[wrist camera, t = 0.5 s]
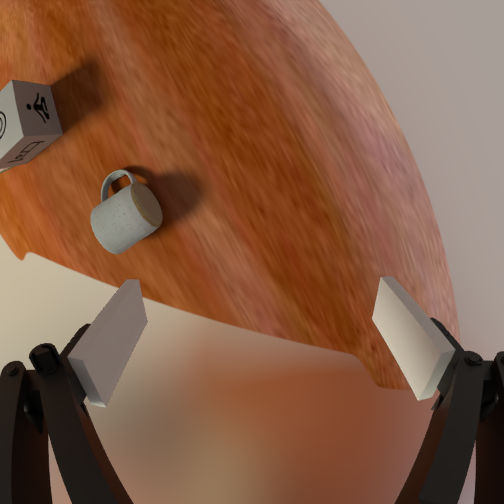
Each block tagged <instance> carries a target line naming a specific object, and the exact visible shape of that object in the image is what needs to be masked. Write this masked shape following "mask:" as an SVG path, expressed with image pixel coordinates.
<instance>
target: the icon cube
mask: <svg viewBox="0 0 504 504" xmlns="http://www.w3.org/2000/svg"><path fill="white" fill-rule="evenodd" d="M62 135H63V132H62V129H61V125H60V122H59V118H58V115H57V111H56V107H55V104H54V100H53V96H52V92H51V88H50V86H49V85H43V84H38V83H31V82H25V81H18V80H11V81H10V82H9V83H8V84H7V85H6V86H5V87H4V88H3V89H2V91H1V92H0V169H4V168H8V167H12V166H17V165H22V164H27V163H28V162H29V161H30V160H31V159H33V158H34V157H35V156H36V155H37V154H39V153H40V152H41V151H42V150H44V149H45V148H46V147H47V146H49V145H50V144H51V143H53V142H54V141H55V140H56V139H58V138H59V137H60V136H62Z"/></svg>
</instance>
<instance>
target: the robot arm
mask: <svg viewBox="0 0 504 504" xmlns="http://www.w3.org/2000/svg"><path fill="white" fill-rule="evenodd" d="M372 320H373V321H374V323H375V325H376V326H377V328H378V330H379V331H380V333H381V335H382V336H383V338H384V340H385V342H386V343H387V345H388V347H389V348H390V350H391V352H392V354H393V355H394V357H395V359H396V361H397V363H398V364H399V366H400V368H401V370H402V371H403V373H404V375H405V377H406V379H407V381H408V382H409V384H410V386H411V388H412V390H413V392H414V394H415V395H416V398H417V399H418V401H419V400H423V399H427V398H430V397H432V396H433V394H434V392H435V390H436V388H438V390H439V391H440V395H439V397H438V399H437V400H436V402H435V404H434V405H433V407H432V409H431V410H433V409H434V412H433V415H432V418H431V421H430V424H429V427H428V430H427V432H426V435H425V438H424V441H423V443H422V446H421V449H420V451H419V453H418V456H417V458H416V461H415V463H414V465H413V467H412V470H411V472H410V474H409V476H408V478H407V480H406V483H405V484H404V487H403V488H402V490H401V492H400V494H399V496H398V498H397V500H396V502H395V504H457V503H458V500H459V497H460V494H461V491H462V488H463V485H464V482H465V478H466V475H467V472H468V468H469V464H470V460H471V456H472V452H473V448H474V443H475V441H476V481H475V497H474V504H504V351H502V352H499V353H497V355H496V357H495V359H494V361H484V360H483V359H482V357H481V356H480V355H478V354H477V353H475V352H472V351H464V350H463V348H462V347H461V346H460V345H459V343H458V342H457V341H456V340H455V339H454V337H453V336H452V335H451V334H450V333H449V331H448V330H446V328H445V327H444V326H443V324H442V323H441V322H439V321H438V320H436V319H434V318H429V317H428V316H427V314H426V313H425V312H424V311H423V310H422V309H421V307H420V306H419V305H418V304H417V303H416V302H415V301H414V299H413V298H412V297H411V296H410V295H409V294H408V293H407V292H406V291H405V289H404V288H403V287H402V286H401V285H400V284H399V283H398V282H397V281H396V280H395V279H394V277H393V276H390V277H381V278H380V284H379V289H378V294H377V299H376V303H375V308H374V312H373V317H372ZM147 322H148V321H147V317H146V313H145V308H144V303H143V299H142V294H141V289H140V284H139V280H127V279H126V281H125V282H124V283H123V284H122V286H121V287H120V288H119V289H118V290H117V292H116V293H115V294H114V296H113V297H112V298H111V299H110V301H109V302H108V303H107V304H106V306H105V307H104V308H103V310H102V311H101V312H100V313H99V315H98V316H97V317H96V319H95V320H94V321H93V322H92V324H86V325H84V326H83V327H81V328H80V329H79V330H78V331H77V332H76V334H75V335H74V337H73V338H72V339H71V340H70V342H69V343H68V344H67V346H66V347H65V348H64V350H63V351H62V352H61V354H60V355H59V354H58V352H57V349H56V348H55V346H54V345H52V344H50V343H44V344H40V345H38V346H36V347H35V348H34V349H33V350H32V351H31V352H30V354H29V359H30V360H31V363H32V364H33V366H34V368H35V370H26V368H25V366H24V365H23V363H22V362H20V361H13V362H10V363H8V364H7V365H6V366H5V367H4V368H3V370H2V372H1V375H0V504H52V495H51V486H50V473H49V454H48V453H49V452H48V433H49V437H50V440H51V445H52V448H53V451H54V454H55V458H56V461H57V464H58V467H59V470H60V473H61V476H62V479H63V482H64V484H65V487H66V490H67V492H68V495H69V497H70V499H71V502H72V504H133V502H132V500H131V499H130V497H129V495H128V494H127V492H126V490H125V488H124V487H123V485H122V483H121V481H120V480H119V478H118V476H117V474H116V472H115V471H114V468H113V467H112V465H111V463H110V461H109V459H108V457H107V455H106V452H105V450H104V448H103V446H102V444H101V442H100V440H99V437H98V435H97V433H96V430H95V428H94V426H93V423H92V421H91V419H90V416H89V413H88V411H87V408H86V406H85V404H84V402H83V401H84V399H85V397H86V395H87V397H88V399H89V401H90V403H91V404H93V405H97V406H102V407H106V406H107V404H108V402H109V400H110V398H111V395H112V393H113V391H114V389H115V387H116V385H117V383H118V381H119V378H120V376H121V374H122V372H123V370H124V368H125V366H126V364H127V362H128V360H129V358H130V356H131V354H132V352H133V350H134V347H135V346H136V344H137V342H138V340H139V338H140V336H141V334H142V332H143V330H144V328H145V326H146V324H147Z"/></svg>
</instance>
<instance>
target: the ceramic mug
mask: <svg viewBox="0 0 504 504" xmlns="http://www.w3.org/2000/svg"><path fill="white" fill-rule="evenodd" d="M125 174H126V175H128V177H129V178H130V180H131V182H132V184H131V185H129V186H126V187H125V188H123V189H122V190H120V191H119V192H118V193H116V194H115V195H113V196H111V197H110V198H108V190H109V187H110V184H111V183H112V182H113V181H114V180H116V179H117V178H119V177H123V176H124V175H125ZM101 201H102V203H101V204H99V205H98V206H96V207H95V208H94V209H93V210H92V213H91V225H92V229H93V232H94V234H95V236H96V238H97V239H98V241H99V242H100V244H101V245H102V246H103V247H104V248H105V249H106V250H108V251H109V252H111V253H114V254H121V253H122V252H124V251H125V250H127V249H128V248H130V247H131V246H133V245H134V244H136V243H137V242H139V241H140V240H141V239H143V238H145V237H146V236H148V235H149V234H151V233H152V232H154V231H155V230H156V229H157V228H158V227H159V226H160V225H161V223H162V219H163V215H162V210H161V207H160V205H159V203H158V201H157V199H156V198H155V196H154V195H153V193H152V192H151V191H150V190H149V189H148V188H147V187H146V186H145V185H143V184H141V183H137V180H136V178H135V177H134V175H133V174H131V173H130V172H128V171H126V170H117V171H114V172H112V173H111V174H110V175H108V176H107V178H106V179H105V181H104V183H103V185H102V189H101Z"/></svg>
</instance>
